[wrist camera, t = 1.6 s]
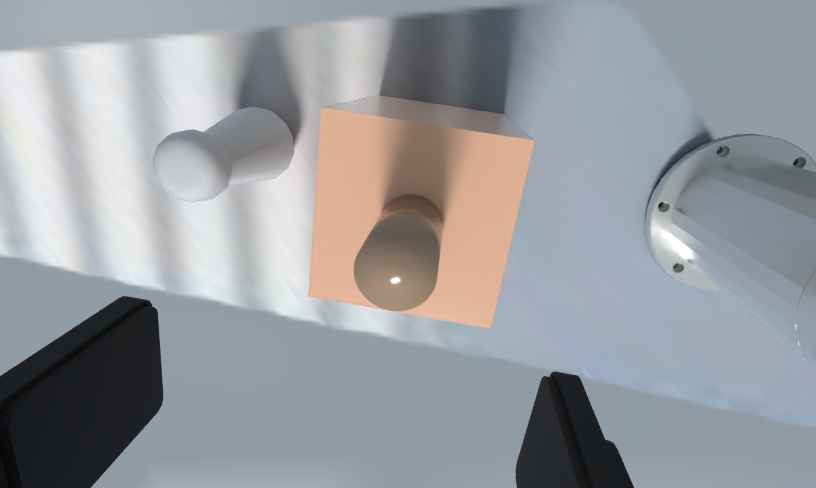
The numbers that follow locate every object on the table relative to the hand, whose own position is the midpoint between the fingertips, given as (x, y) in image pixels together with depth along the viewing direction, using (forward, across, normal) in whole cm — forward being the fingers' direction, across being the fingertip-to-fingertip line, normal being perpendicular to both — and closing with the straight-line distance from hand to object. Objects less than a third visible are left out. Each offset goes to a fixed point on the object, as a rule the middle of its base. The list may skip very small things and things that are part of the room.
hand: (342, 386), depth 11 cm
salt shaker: (+29, +13, 0) cm, 32 cm away
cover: (+29, -1, 0) cm, 29 cm away
